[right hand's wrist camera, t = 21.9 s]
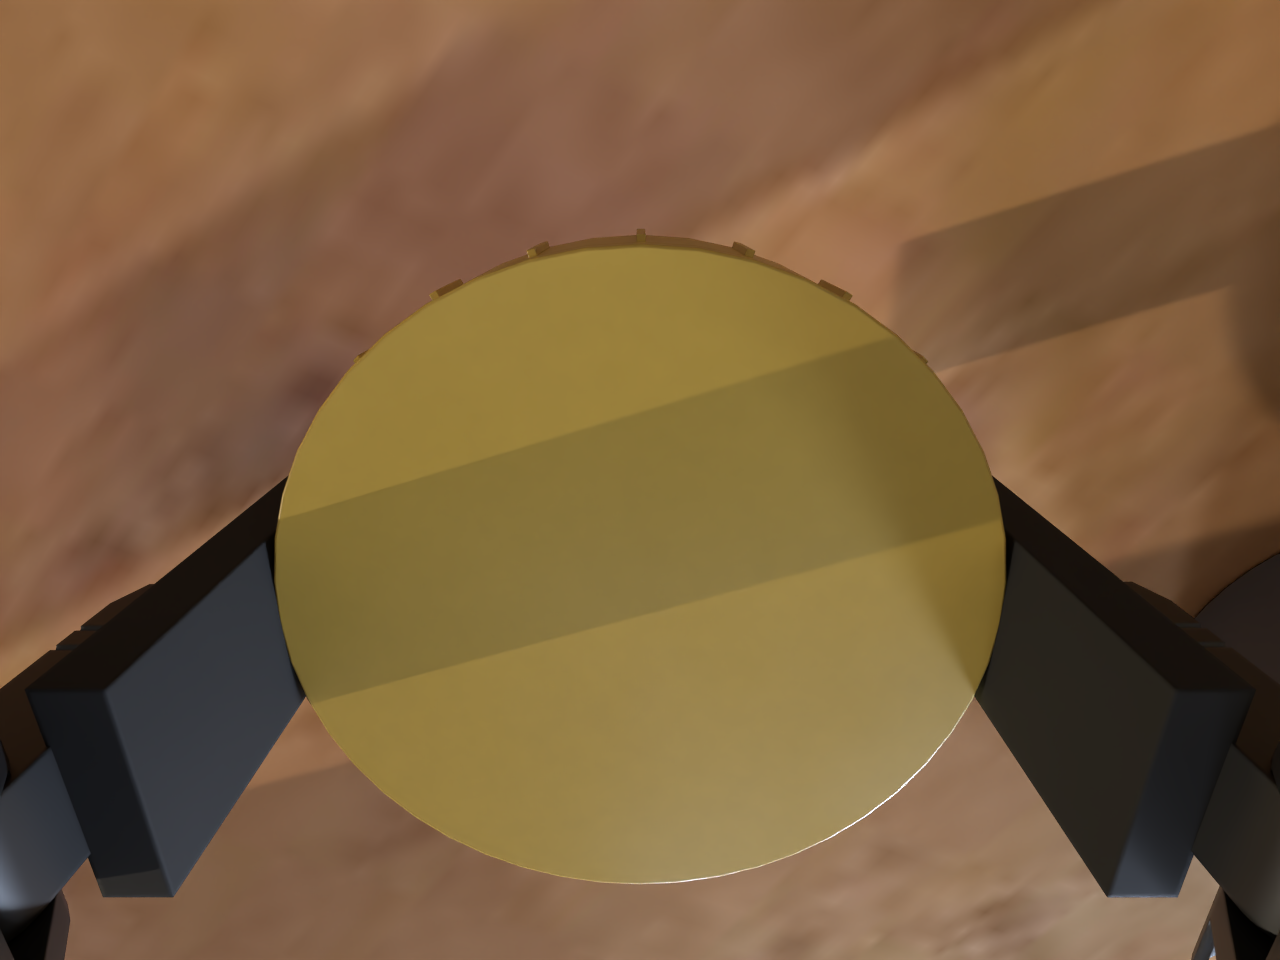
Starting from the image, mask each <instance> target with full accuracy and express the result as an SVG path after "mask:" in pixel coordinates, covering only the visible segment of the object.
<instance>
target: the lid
mask: <svg viewBox="0 0 1280 960" xmlns="http://www.w3.org/2000/svg"><path fill="white" fill-rule="evenodd" d="M527 253H528V255H525V256H522V257H519V258H517V259H514V260H511V261H508V262H505V263H503V264H501V265H499V266H497V267H495V268H493V269H491V270H489V271H487V272H485V273H483V274H482V275H480V276H478V277H476V278H474V279H472V280H470V281H468V282H466V283H465V284H463V282H462V281H461V279H459V280H457V281H454V282H452V283H450V284H448V285H446V286H444V287H442V288H440V289H438V290H436V291H434V292H433V293H431V294H430V297H431V299H432V301H430V302H429V303H427V304H425V305H424V306H423V307H421V308H420V309H419V310H417V311H416V312H414V313H413V314H412V315H410V316H409V317H408V318H406V319H405V320H403V321H402V322H401V323H399V324H398V325H397V326H395V327H394V328H393V329H391V330H390V331H388V332H387V333H386V334H384V335H383V336H382V337H381V338H380V339H379V340H378V341H377V342H376V343H375V344H374V345H373V346H372V347H371V348H370V349H368V350H367V351H365V352H363V353H362V354H360V355H358V356H357V357H356V358H355V359H354V362H355V364H354V365H353V366H352V367H351V368H350V369H349V370H348V371H347V372H346V374H345V375H344V377H343V378H342V379H341V381H340V382H339V383H338V385H337V386H336V387H335V389H334V390H333V391H332V393H331V394H330V395H329V397H328V398H327V399H326V401H325V402H324V403H323V405H322V406H321V407H320V409H319V410H318V412H317V414H316V416H315V418H314V420H313V422H312V424H311V426H310V428H309V429H308V431H307V433H306V435H305V437H304V439H303V441H302V443H301V445H300V447H299V448H298V450H297V453H296V456H295V459H294V462H293V465H292V467H291V470H290V473H289V476H288V479H287V482H286V485H285V488H284V491H283V494H282V500H281V505H280V511H279V517H278V523H277V528H276V534H275V559H274V584H275V591H276V599H277V605H278V610H279V615H280V620H281V625H282V629H283V633H284V638H285V642H286V646H287V650H288V653H289V657H290V660H291V663H292V665H293V667H294V670H295V672H296V674H297V676H298V679H299V681H300V683H301V685H302V688H303V690H304V692H305V694H306V697H307V699H308V700H309V702H310V704H311V705H312V707H313V709H314V710H315V712H316V713H317V715H318V717H319V718H320V720H321V721H322V723H323V725H324V726H325V728H326V730H327V731H328V733H329V734H330V735H331V737H332V738H333V739H334V740H335V741H336V743H337V744H338V745H339V746H340V748H341V749H342V750H343V751H344V753H345V754H346V755H347V756H348V758H349V759H350V760H351V761H352V762H353V764H354V765H355V766H356V767H357V768H358V769H359V770H360V771H361V772H363V773H364V774H365V775H366V776H367V777H368V778H369V779H370V780H371V781H372V782H373V783H374V784H375V785H376V786H377V787H378V788H379V789H380V790H381V791H382V792H383V793H385V794H386V795H387V796H389V797H390V798H391V799H392V800H394V801H395V802H396V803H398V804H399V805H400V806H402V807H403V808H404V809H405V810H407V811H408V812H409V813H411V814H412V815H413V816H415V817H416V818H418V819H420V820H421V821H423V822H425V823H426V824H428V825H430V826H431V827H433V828H435V829H436V830H438V831H439V832H441V833H443V834H444V835H446V836H448V837H450V838H452V839H454V840H456V841H458V842H460V843H462V844H465V845H467V846H469V847H471V848H473V849H475V850H477V851H479V852H482V853H484V854H486V855H489V856H492V857H495V858H498V859H501V860H503V861H506V862H509V863H512V864H515V865H518V866H520V867H524V868H528V869H532V870H536V871H540V872H544V873H548V874H553V875H557V876H561V877H568V878H575V879H582V880H589V881H595V882H607V883H628V884H652V883H673V882H685V881H692V880H699V879H706V878H713V877H719V876H723V875H728V874H732V873H736V872H740V871H744V870H748V869H752V868H756V867H760V866H762V865H765V864H768V863H771V862H774V861H777V860H780V859H782V858H785V857H788V856H791V855H794V854H796V853H799V852H801V851H803V850H805V849H807V848H809V847H811V846H813V845H816V844H818V843H820V842H822V841H824V840H826V839H828V838H831V837H832V836H834V835H836V834H837V833H839V832H841V831H842V830H844V829H846V828H847V827H849V826H851V825H852V824H854V823H856V822H857V821H859V820H861V819H862V818H864V817H866V816H867V815H868V814H869V813H871V812H872V811H873V810H875V809H876V808H877V807H879V806H880V805H881V804H883V803H884V802H885V801H887V800H888V799H889V798H890V797H892V796H893V795H894V794H896V793H897V792H898V791H899V790H900V789H901V788H902V787H903V786H904V785H905V784H906V783H907V782H908V781H909V780H911V779H912V778H913V777H914V776H915V775H916V774H917V773H918V772H919V771H920V770H921V769H922V768H923V767H924V766H925V765H926V764H927V763H928V762H929V760H930V759H931V758H932V757H933V755H934V754H935V753H936V752H937V750H938V749H939V748H940V747H941V746H942V744H943V743H944V742H945V741H946V739H947V738H948V737H949V736H950V735H951V733H952V732H953V730H954V728H955V727H956V725H957V724H958V722H959V720H960V719H961V717H962V716H963V714H964V712H965V711H966V709H967V707H968V706H969V704H970V703H971V701H972V699H973V697H974V695H975V693H976V691H977V688H978V686H979V684H980V682H981V679H982V677H983V675H984V673H985V671H986V668H987V666H988V664H989V661H990V658H991V654H992V651H993V648H994V644H995V639H996V635H997V631H998V626H999V622H1000V617H1001V611H1002V606H1003V601H1004V595H1005V588H1006V537H1005V531H1004V526H1003V520H1002V514H1001V508H1000V502H999V496H998V493H997V490H996V487H995V484H994V481H993V478H992V475H991V472H990V469H989V466H988V463H987V460H986V457H985V454H984V451H983V449H982V447H981V446H980V444H979V442H978V440H977V438H976V436H975V434H974V432H973V430H972V428H971V426H970V424H969V422H968V421H967V419H966V417H965V415H964V413H963V411H962V409H961V408H960V407H959V405H958V404H957V403H956V401H955V400H954V399H953V397H952V396H951V395H950V393H949V392H948V390H947V389H946V388H945V386H944V385H943V384H942V382H941V381H940V380H939V378H938V377H937V376H936V374H935V373H934V371H933V370H932V369H931V368H930V367H929V366H928V365H927V364H926V363H928V361H927V360H926V359H925V358H924V357H923V356H922V355H920V354H918V353H917V352H915V351H913V350H912V349H911V348H910V347H909V346H908V345H907V344H906V343H905V342H904V341H903V340H902V339H901V338H900V337H899V336H898V335H896V334H895V333H893V332H892V331H891V330H889V329H888V328H887V327H885V326H884V325H883V324H881V323H880V322H879V321H877V320H876V319H874V318H873V317H872V316H870V315H869V314H868V313H866V312H865V311H864V310H862V309H861V308H860V307H858V306H857V305H855V304H854V303H852V302H850V301H849V300H850V299H851V297H852V295H851V294H850V293H848V292H846V291H844V290H842V289H840V288H838V287H836V286H834V285H832V284H830V283H828V282H826V281H824V280H821V281H820V282H819V284H816V283H814V282H813V281H811V280H809V279H807V278H805V277H803V276H801V275H799V274H797V273H795V272H794V271H792V270H790V269H788V268H786V267H784V266H782V265H780V264H778V263H775V262H772V261H769V260H767V259H764V258H761V257H758V256H756V255H754V254H755V251H754V250H752V249H751V248H749V247H747V246H745V245H743V244H741V243H738V242H734V243H733V247H728V246H723V245H718V244H714V243H709V242H704V241H699V240H695V239H690V238H678V237H664V236H650V235H645V229H637V235H631V236H616V237H602V238H591V239H586V240H581V241H577V242H572V243H567V244H562V245H557V246H553V247H549V244H548V242H543V243H540V244H538V245H536V246H534V247H533V248H531V249H529V250H527Z"/></svg>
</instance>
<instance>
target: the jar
mask: <svg viewBox="0 0 1280 960" xmlns="http://www.w3.org/2000/svg"><path fill="white" fill-rule="evenodd" d="M1195 620H1197V621H1198V622H1199V623H1201V628H1207V629H1208V630H1210V631H1211V632H1212V633H1214V634H1215V635H1216V636H1217V637H1219V638H1220V639H1221V640H1223V641H1224V642H1225V646H1226V647H1232V648H1233V649H1234V650H1236V651H1237V652H1238V653H1240V654H1241V655H1242V656H1243V657H1245V658H1246V659H1247V660H1249V661H1250V662H1251V663H1252V664H1254V665H1255V666H1256V667H1258V668H1259V669H1260V670H1262V671H1263V672H1264V673H1265V674H1267V675H1268V676H1269V677H1271V678H1272V679H1273V680H1275V681H1276V682H1277V683H1278V684H1280V553H1279V554H1277V555H1275V556H1273V557H1272V558H1270V559H1268V560H1267V561H1265V562H1263V563H1262V564H1260V565H1258V566H1257V567H1255V568H1253V569H1251V570H1250V571H1248V572H1247V573H1246V574H1244V575H1243V576H1242V577H1240V578H1239V579H1238V580H1236V581H1235V582H1233V583H1232V584H1231V585H1229V586H1228V587H1227V588H1226V589H1224V590H1223V591H1222V592H1221V593H1220V594H1219V595H1218V596H1217V597H1215V598H1214V599H1213V600H1212V601H1211V602H1210V603H1209V604H1208V605H1207V606H1206V607H1205V608H1204V609H1203V610H1202V611H1201V612H1200V613H1199V614H1198V615H1197V617H1196V618H1195Z"/></svg>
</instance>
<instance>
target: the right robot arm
mask: <svg viewBox="0 0 1280 960" xmlns="http://www.w3.org/2000/svg"><path fill="white" fill-rule="evenodd" d="M992 478H993V481H994V484H995V487H996V490H997V493H998V496H999V502H1000V508H1001V514H1002V520H1003V526H1004V531H1005V537H1006V588H1005V595H1004V601H1003V606H1002V611H1001V617H1000V622H999V626H998V631H997V635H996V639H995V644H994V648H993V651H992V654H991V658H990V661H989V664H988V666H987V668H986V671H985V673H984V675H983V677H982V679H981V682H980V684H979V686H978V688H977V691H976V693H975V695H974V696H975V698H976V699H977V701H978V702H979V704H980V705H981V707H982V708H983V710H984V711H985V713H986V714H987V716H988V718H989V719H990V721H991V722H992V724H993V725H994V727H995V728H996V730H997V731H998V733H999V734H1000V736H1001V737H1002V739H1003V740H1004V742H1005V743H1006V745H1007V746H1008V748H1009V749H1010V751H1011V752H1012V754H1013V755H1014V757H1015V758H1016V760H1017V761H1018V763H1019V764H1020V766H1021V767H1022V769H1023V770H1024V772H1025V773H1026V775H1027V777H1028V778H1029V780H1030V781H1031V783H1032V784H1033V786H1034V787H1035V789H1036V790H1037V792H1038V793H1039V795H1040V796H1041V798H1042V799H1043V801H1044V802H1045V804H1046V805H1047V807H1048V808H1049V810H1050V811H1051V813H1052V814H1053V816H1054V817H1055V819H1056V820H1057V822H1058V823H1059V825H1060V826H1061V828H1062V829H1063V831H1064V832H1065V834H1066V835H1067V837H1068V839H1069V840H1070V842H1071V843H1072V845H1073V846H1074V848H1075V849H1076V851H1077V852H1078V854H1079V855H1080V857H1081V858H1082V860H1083V861H1084V863H1085V864H1086V866H1087V867H1088V869H1089V870H1090V872H1091V873H1092V875H1093V876H1094V878H1095V879H1096V881H1097V882H1098V884H1099V885H1100V887H1101V888H1102V890H1103V891H1104V893H1105V894H1106V896H1107V897H1178V895H1179V892H1180V889H1181V887H1182V884H1183V882H1184V879H1185V876H1186V874H1187V871H1188V868H1189V866H1190V863H1191V860H1192V858H1193V855H1195V856H1196V858H1197V859H1198V860H1199V861H1200V862H1201V864H1202V865H1203V866H1204V867H1205V868H1206V870H1207V871H1208V872H1209V873H1210V874H1211V876H1212V877H1213V878H1214V879H1215V880H1216V882H1217V883H1218V884H1219V885H1220V887H1219V889H1218V892H1217V894H1216V897H1215V899H1214V902H1213V904H1212V907H1211V909H1210V911H1209V914H1208V916H1207V919H1206V921H1205V924H1204V926H1203V929H1202V931H1201V934H1200V936H1199V939H1198V941H1197V943H1196V946H1195V948H1194V951H1193V953H1192V958H1191V960H1209V958H1210V957H1213V956H1215V955H1216V960H1280V684H1278V683H1277V682H1276V681H1275V680H1273V679H1272V678H1271V677H1269V676H1268V675H1267V674H1265V673H1264V672H1263V671H1262V670H1260V669H1259V668H1258V667H1256V666H1255V665H1254V664H1252V663H1251V662H1250V661H1249V660H1247V659H1246V658H1245V657H1243V656H1242V655H1241V654H1240V653H1238V652H1237V651H1236V650H1234V649H1233V648H1232V647H1226V646H1225V642H1224V641H1223V640H1221V639H1220V638H1219V637H1217V636H1216V635H1215V634H1214V633H1212V632H1211V631H1210V630H1208V629H1207V628H1201V623H1199V622H1198V621H1197V620H1195V619H1194V618H1193V617H1192V616H1190V615H1189V614H1188V613H1186V612H1185V611H1184V610H1183V609H1181V608H1180V607H1179V606H1177V605H1176V604H1175V603H1173V602H1172V601H1171V600H1168V599H1166V598H1164V597H1162V596H1160V595H1158V594H1156V593H1154V592H1152V591H1150V590H1148V589H1146V588H1144V587H1142V586H1140V585H1138V584H1136V583H1133V582H1123V581H1122V580H1120V579H1119V578H1118V577H1117V576H1115V575H1114V574H1113V573H1112V572H1110V571H1109V570H1108V569H1107V568H1106V567H1104V566H1103V565H1102V564H1101V563H1099V562H1098V561H1097V560H1096V559H1094V558H1093V557H1092V556H1091V555H1089V554H1088V553H1087V552H1086V551H1085V550H1083V549H1082V548H1081V547H1080V546H1078V545H1077V544H1076V543H1075V542H1073V541H1072V540H1071V539H1070V538H1068V537H1067V536H1066V535H1065V534H1064V533H1062V532H1061V531H1060V530H1059V529H1057V528H1056V527H1055V526H1054V525H1052V524H1051V523H1050V522H1049V521H1047V520H1046V519H1045V518H1044V517H1043V516H1041V515H1040V514H1039V513H1038V512H1036V511H1035V510H1034V509H1033V508H1031V507H1030V506H1029V505H1028V504H1026V503H1025V502H1024V501H1023V500H1022V499H1020V498H1019V497H1018V496H1017V495H1015V494H1014V493H1013V492H1012V491H1010V490H1009V489H1008V488H1007V487H1005V486H1004V485H1003V484H1002V483H1001V482H999V481H998V480H997V479H996V478H994V477H993V476H992ZM287 479H288V476H287V477H286V478H285V479H284V480H282V481H281V482H280V483H279V484H278V485H276V486H275V487H274V488H273V489H271V490H270V491H269V492H268V493H266V494H265V495H264V496H263V497H261V498H260V499H259V500H258V501H257V502H255V503H254V504H253V505H252V506H250V507H249V508H248V509H247V510H245V511H244V512H243V513H242V514H240V515H239V516H238V517H237V518H236V519H234V520H233V521H232V522H231V523H229V524H228V525H227V526H226V527H224V528H223V529H222V530H221V531H219V532H218V533H217V534H216V535H215V536H213V537H212V538H211V539H210V540H208V541H207V542H206V543H205V544H203V545H202V546H201V547H200V548H198V549H197V550H196V551H195V552H194V553H192V554H191V555H190V556H189V557H187V558H186V559H185V560H184V561H182V562H181V563H180V564H179V565H177V566H176V567H175V568H174V569H173V570H171V571H170V572H169V573H168V574H166V575H165V576H164V577H163V578H161V579H160V580H159V581H158V582H156V583H155V584H149V585H147V586H145V587H143V588H141V589H139V590H137V591H135V592H133V593H131V594H128V595H126V596H124V597H122V598H120V599H118V600H116V601H114V602H112V603H110V604H109V605H107V606H106V607H105V608H104V609H102V610H101V611H100V612H99V613H97V614H96V615H95V616H93V617H92V618H91V619H90V620H88V621H87V622H86V623H84V624H83V625H82V626H81V630H80V631H74V632H73V633H72V634H70V635H69V636H68V637H66V638H65V639H64V640H63V641H61V642H60V643H59V644H57V645H56V647H57V648H56V650H50V651H48V652H47V653H46V654H45V655H43V656H42V657H41V658H39V659H38V660H37V661H36V662H34V663H33V664H32V665H30V666H29V667H28V668H27V669H25V670H24V671H23V672H21V673H20V674H19V675H18V676H16V677H15V678H14V679H12V680H11V681H10V682H9V683H7V684H6V685H5V686H3V687H2V688H1V689H0V960H64V957H65V950H66V944H67V938H68V931H69V925H70V916H69V910H68V904H67V902H66V899H65V897H64V894H63V892H62V888H63V886H64V885H65V884H66V883H67V882H68V880H69V879H70V878H71V877H72V876H73V874H74V873H75V872H76V871H77V870H78V868H79V867H80V866H81V865H82V864H83V862H84V861H85V860H86V859H87V858H88V859H89V861H90V864H91V867H92V869H93V872H94V875H95V877H96V880H97V882H98V885H99V888H100V890H101V893H102V896H103V897H174V895H175V894H176V892H177V891H178V889H179V888H180V886H181V885H182V883H183V882H184V880H185V879H186V877H187V876H188V874H189V873H190V871H191V870H192V868H193V867H194V865H195V863H196V862H197V860H198V859H199V857H200V856H201V854H202V853H203V851H204V850H205V848H206V847H207V845H208V844H209V842H210V841H211V839H212V838H213V836H214V835H215V833H216V832H217V830H218V829H219V827H220V826H221V824H222V823H223V821H224V820H225V818H226V817H227V815H228V814H229V812H230V811H231V809H232V808H233V806H234V804H235V803H236V801H237V800H238V798H239V797H240V795H241V794H242V792H243V791H244V789H245V788H246V786H247V785H248V783H249V782H250V780H251V779H252V777H253V776H254V774H255V773H256V771H257V770H258V768H259V767H260V765H261V764H262V762H263V761H264V759H265V758H266V756H267V755H268V753H269V752H270V750H271V748H272V747H273V745H274V744H275V742H276V741H277V739H278V738H279V736H280V735H281V733H282V732H283V730H284V729H285V727H286V726H287V724H288V723H289V721H290V720H291V718H292V717H293V715H294V714H295V712H296V711H297V709H298V708H299V706H300V705H301V703H302V702H303V700H304V699H305V697H306V694H305V692H304V690H303V688H302V685H301V683H300V681H299V679H298V676H297V674H296V672H295V670H294V667H293V665H292V663H291V660H290V657H289V653H288V650H287V646H286V642H285V638H284V633H283V629H282V625H281V620H280V615H279V610H278V605H277V599H276V591H275V584H274V559H275V534H276V528H277V523H278V517H279V511H280V505H281V500H282V494H283V491H284V488H285V485H286V482H287Z"/></svg>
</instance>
